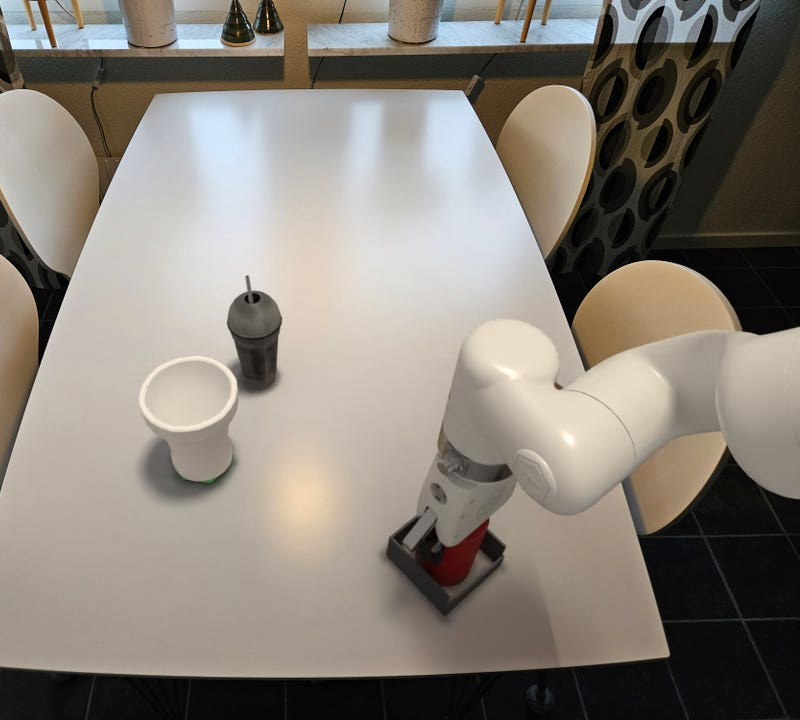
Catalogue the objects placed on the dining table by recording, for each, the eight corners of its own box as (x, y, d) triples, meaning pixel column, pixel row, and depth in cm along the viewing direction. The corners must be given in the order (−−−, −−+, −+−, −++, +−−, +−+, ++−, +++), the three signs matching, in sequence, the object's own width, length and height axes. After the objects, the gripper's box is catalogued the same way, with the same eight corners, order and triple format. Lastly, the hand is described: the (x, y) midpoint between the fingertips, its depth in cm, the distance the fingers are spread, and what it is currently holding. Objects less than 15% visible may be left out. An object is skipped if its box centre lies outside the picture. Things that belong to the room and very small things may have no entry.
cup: (142, 464, 83) (117, 395, 73) (205, 412, 89) (191, 340, 78) (202, 515, 78) (184, 448, 68) (265, 457, 84) (258, 387, 74)
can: (482, 564, 74) (502, 517, 66) (443, 598, 72) (460, 554, 63) (441, 524, 78) (456, 475, 70) (403, 556, 75) (414, 509, 67)
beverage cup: (290, 362, 95) (285, 255, 80) (279, 400, 90) (272, 293, 76) (242, 356, 96) (228, 248, 81) (229, 393, 91) (212, 286, 76)
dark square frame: (500, 565, 74) (509, 547, 71) (444, 617, 70) (451, 600, 67) (441, 509, 79) (446, 490, 76) (385, 555, 75) (389, 536, 72)
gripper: (445, 527, 51) (419, 613, 65) (576, 417, 59) (528, 515, 72) (381, 465, 55) (368, 558, 68) (511, 369, 63) (477, 470, 76)
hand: (450, 535), depth 70 cm, fingers closed on can, 6 cm apart
